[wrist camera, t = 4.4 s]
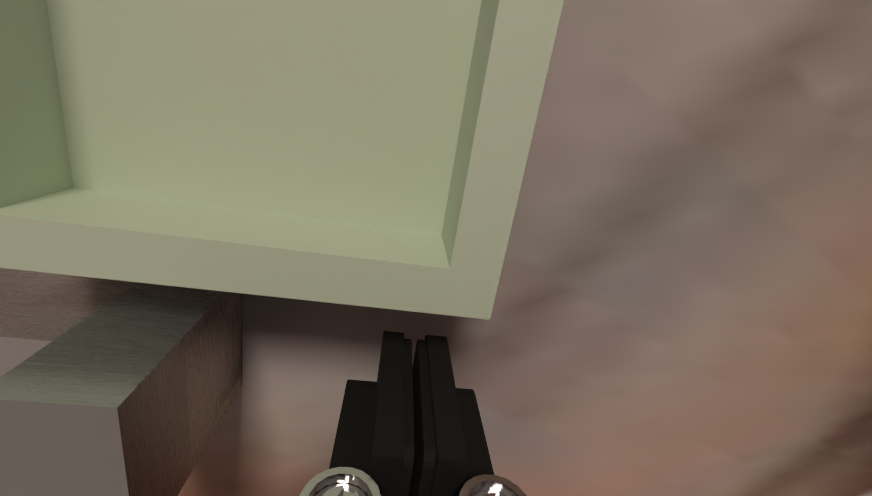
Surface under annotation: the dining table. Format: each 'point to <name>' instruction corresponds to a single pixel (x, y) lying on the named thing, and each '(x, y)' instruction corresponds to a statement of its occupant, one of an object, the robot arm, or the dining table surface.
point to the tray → (272, 144)
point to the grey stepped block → (110, 382)
